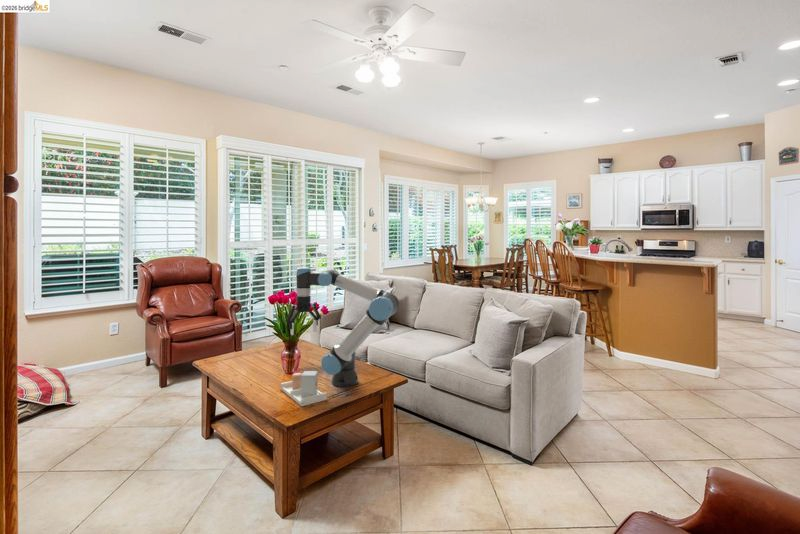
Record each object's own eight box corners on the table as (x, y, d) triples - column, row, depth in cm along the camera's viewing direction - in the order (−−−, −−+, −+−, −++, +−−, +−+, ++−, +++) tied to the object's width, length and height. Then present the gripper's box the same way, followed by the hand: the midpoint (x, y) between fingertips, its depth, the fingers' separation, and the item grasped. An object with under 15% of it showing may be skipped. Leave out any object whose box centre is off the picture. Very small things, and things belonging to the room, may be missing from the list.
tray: (304, 383, 228) (304, 368, 227) (326, 399, 207) (326, 382, 206) (280, 389, 219) (280, 373, 219) (301, 406, 198) (301, 388, 198)
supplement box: (315, 399, 204) (315, 375, 203) (300, 399, 204) (300, 375, 203) (317, 393, 212) (317, 370, 211) (303, 393, 212) (303, 370, 211)
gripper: (320, 292, 231) (320, 328, 232) (279, 296, 215) (279, 334, 217) (327, 294, 225) (326, 331, 227) (284, 298, 209) (284, 337, 211)
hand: (303, 333), depth 222 cm, fingers open, 13 cm apart
